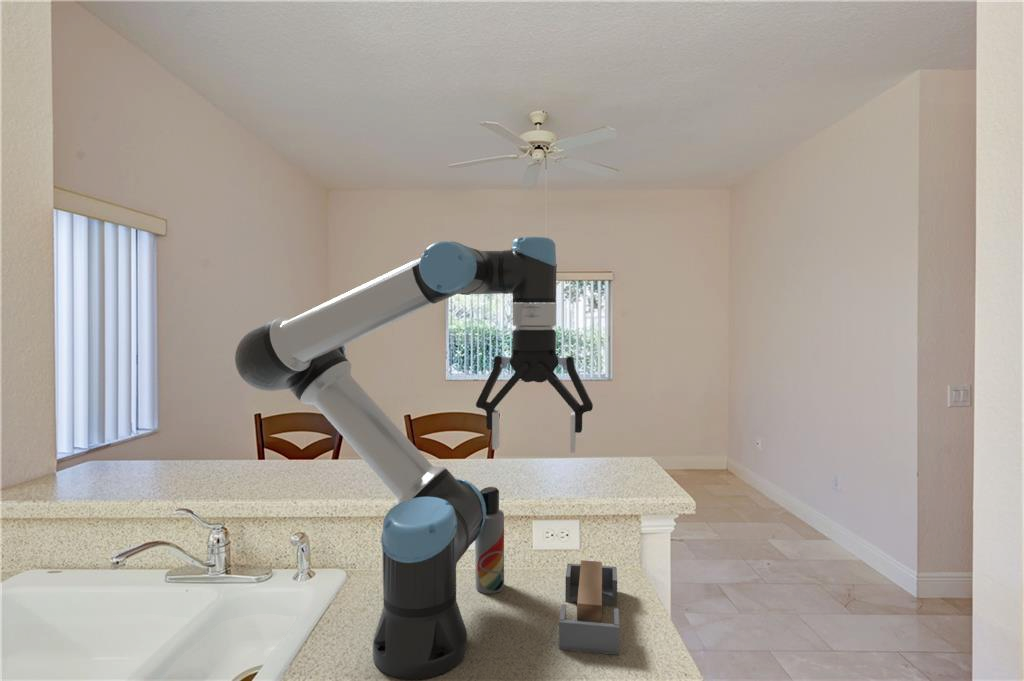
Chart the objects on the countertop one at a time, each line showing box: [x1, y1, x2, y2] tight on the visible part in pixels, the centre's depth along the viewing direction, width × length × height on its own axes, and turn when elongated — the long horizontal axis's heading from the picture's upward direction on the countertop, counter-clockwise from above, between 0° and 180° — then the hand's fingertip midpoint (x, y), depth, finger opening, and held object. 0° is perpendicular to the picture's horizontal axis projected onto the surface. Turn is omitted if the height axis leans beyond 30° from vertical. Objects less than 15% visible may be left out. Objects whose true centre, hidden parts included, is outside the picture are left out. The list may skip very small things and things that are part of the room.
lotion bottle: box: [474, 486, 505, 595], centre depth 112 cm, size 6×6×20 cm
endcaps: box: [558, 563, 620, 656], centre depth 102 cm, size 10×21×5 cm, turn 171°
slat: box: [576, 559, 603, 623], centre depth 101 cm, size 4×16×6 cm, turn 171°
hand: (534, 449), depth 99 cm, fingers open, 13 cm apart
